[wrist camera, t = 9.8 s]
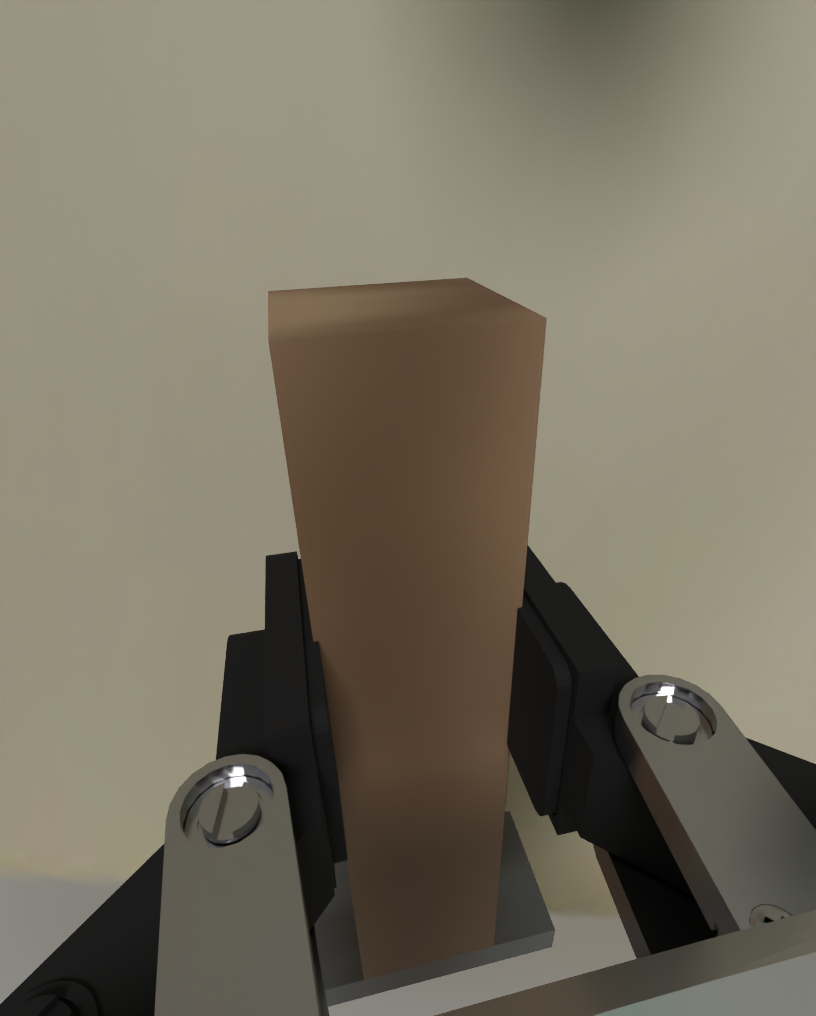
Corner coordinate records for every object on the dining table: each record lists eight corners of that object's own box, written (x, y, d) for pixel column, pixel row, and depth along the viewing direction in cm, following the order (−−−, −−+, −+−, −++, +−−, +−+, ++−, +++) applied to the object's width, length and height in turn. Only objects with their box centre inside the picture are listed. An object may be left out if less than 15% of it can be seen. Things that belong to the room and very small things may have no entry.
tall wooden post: (559, 271, 9) (670, 307, 7) (507, 828, 17) (551, 946, 14) (159, 298, 8) (112, 352, 6) (294, 877, 16) (299, 1014, 13)
